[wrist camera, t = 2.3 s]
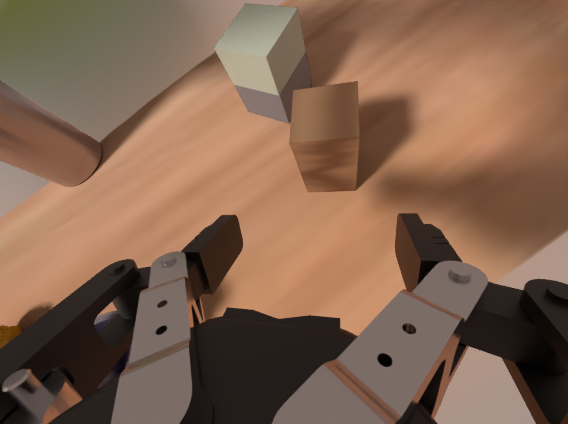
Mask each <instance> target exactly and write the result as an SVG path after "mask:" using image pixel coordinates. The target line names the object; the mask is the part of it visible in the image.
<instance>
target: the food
mask: <svg viewBox="0 0 568 424" xmlns="http://www.w3.org/2000/svg"><path fill="white" fill-rule="evenodd" d="M21 332H22V330H21V328H20V327H19V325H17V326H11V327H8V326H3V325H2V326H0V349H1V348H2V347H3V346H5V345H6V344H7V343H8V342H10V341H11V340H12V339H14V338H15V337H16V336H17V335H19V334H20V333H21Z"/></svg>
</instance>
